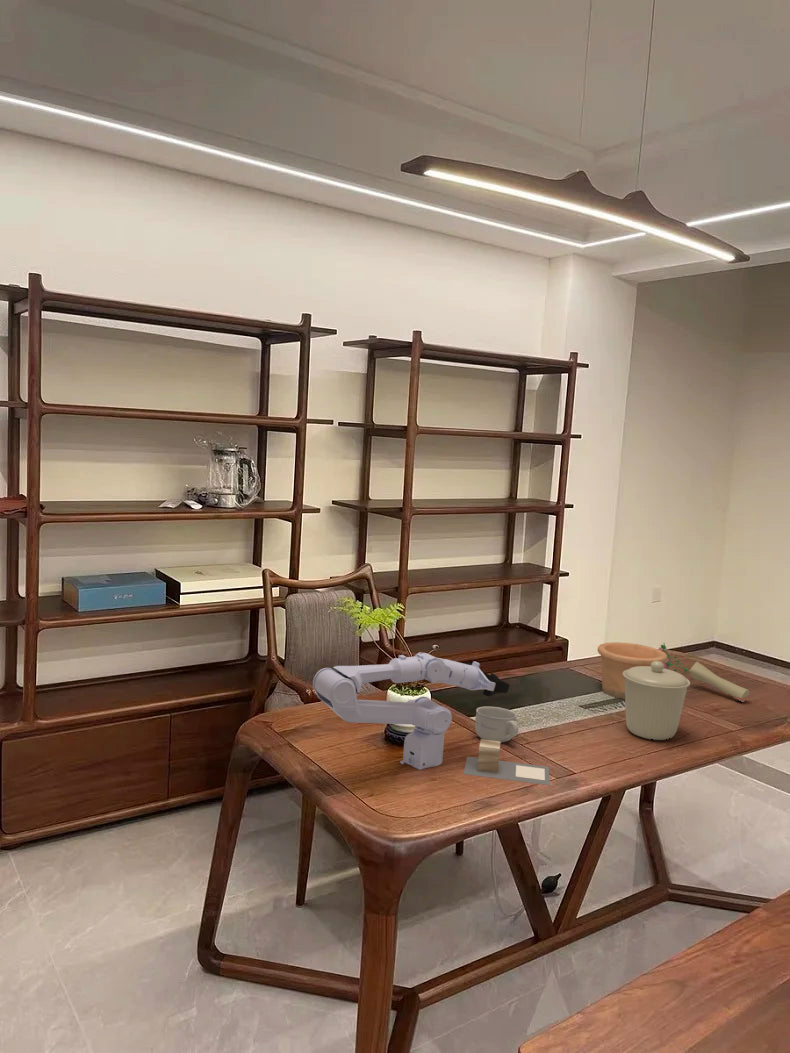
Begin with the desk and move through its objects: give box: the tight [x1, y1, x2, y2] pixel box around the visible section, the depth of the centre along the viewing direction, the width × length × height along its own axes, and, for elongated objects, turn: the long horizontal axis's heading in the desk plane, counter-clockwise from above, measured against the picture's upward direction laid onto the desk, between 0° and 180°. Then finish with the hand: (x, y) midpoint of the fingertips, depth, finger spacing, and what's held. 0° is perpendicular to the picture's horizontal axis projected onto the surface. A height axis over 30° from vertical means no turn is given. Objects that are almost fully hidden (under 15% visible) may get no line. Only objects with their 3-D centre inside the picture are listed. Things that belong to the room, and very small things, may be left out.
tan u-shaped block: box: [477, 738, 501, 773], centre depth 193 cm, size 5×5×6 cm
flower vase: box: [658, 643, 750, 698], centre depth 276 cm, size 12×12×35 cm
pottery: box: [597, 641, 668, 700], centre depth 265 cm, size 22×22×14 cm
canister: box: [623, 661, 691, 741], centre depth 227 cm, size 18×18×21 cm
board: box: [463, 755, 551, 786], centre depth 193 cm, size 20×11×1 cm, turn 80°
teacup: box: [474, 706, 519, 744], centre depth 213 cm, size 14×11×8 cm
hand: (498, 683), depth 204 cm, fingers open, 7 cm apart
